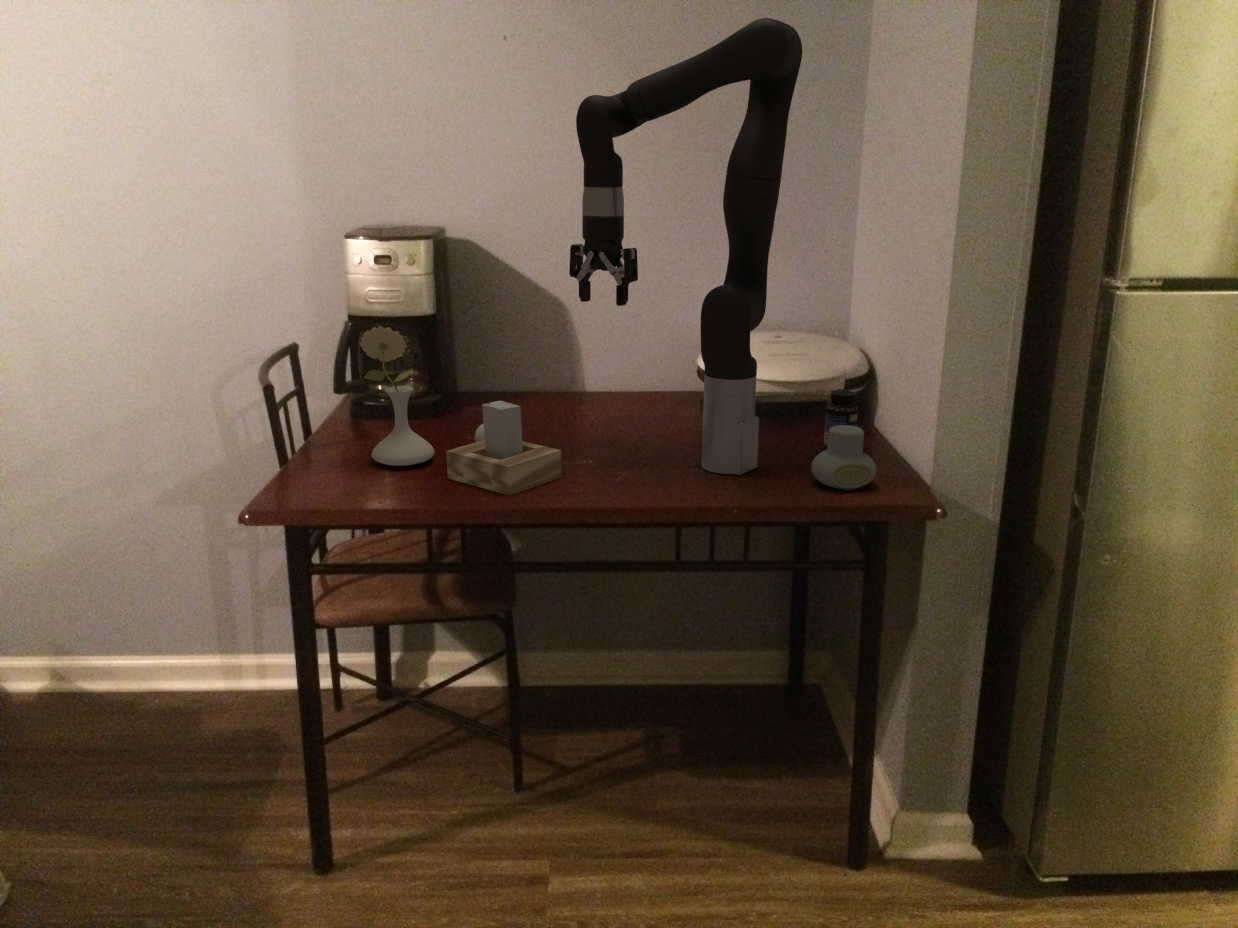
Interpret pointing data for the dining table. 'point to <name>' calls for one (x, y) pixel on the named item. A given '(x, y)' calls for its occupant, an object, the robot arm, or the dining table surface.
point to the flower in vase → (394, 402)
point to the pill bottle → (840, 411)
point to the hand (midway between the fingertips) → (603, 303)
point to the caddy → (504, 467)
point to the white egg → (479, 433)
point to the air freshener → (844, 460)
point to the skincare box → (502, 429)
